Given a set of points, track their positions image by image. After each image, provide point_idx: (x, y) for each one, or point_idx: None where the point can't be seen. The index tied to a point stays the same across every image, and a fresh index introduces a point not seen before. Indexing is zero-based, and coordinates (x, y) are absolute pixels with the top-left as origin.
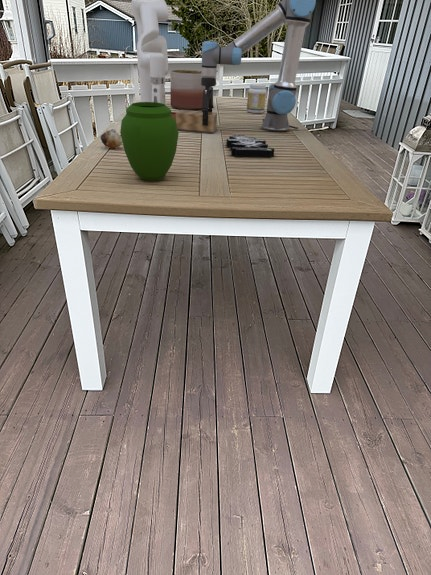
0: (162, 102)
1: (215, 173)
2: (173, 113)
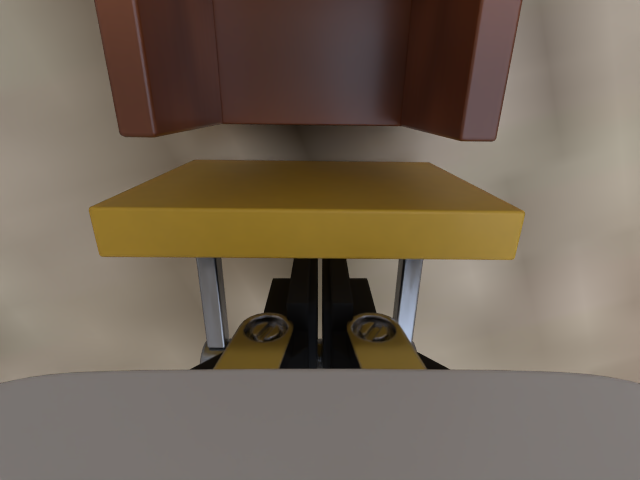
0: (527, 462)
1: None
2: (152, 31)
